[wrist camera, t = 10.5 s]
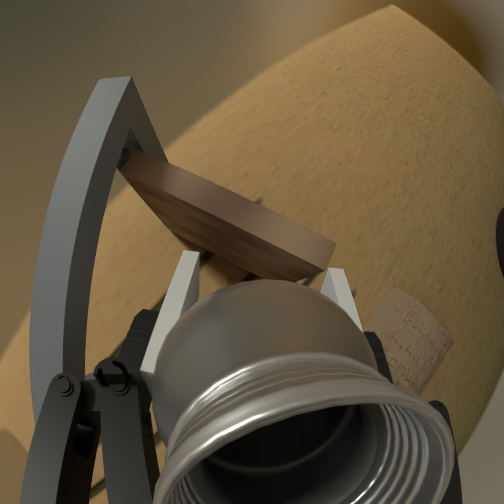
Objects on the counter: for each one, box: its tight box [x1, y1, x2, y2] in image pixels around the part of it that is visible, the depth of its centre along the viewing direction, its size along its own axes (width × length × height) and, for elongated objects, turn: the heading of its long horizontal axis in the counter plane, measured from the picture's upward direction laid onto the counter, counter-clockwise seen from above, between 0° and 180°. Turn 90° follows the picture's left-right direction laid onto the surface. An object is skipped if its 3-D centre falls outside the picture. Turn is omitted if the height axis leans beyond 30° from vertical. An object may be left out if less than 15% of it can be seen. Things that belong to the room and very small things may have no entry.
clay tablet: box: [362, 285, 453, 396], centre depth 26 cm, size 14×10×3 cm
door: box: [116, 148, 336, 283], centre depth 21 cm, size 13×3×14 cm, turn 64°
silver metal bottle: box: [152, 279, 454, 504], centre depth 12 cm, size 6×7×20 cm
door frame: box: [30, 76, 169, 427], centre depth 18 cm, size 2×18×18 cm, turn 174°
